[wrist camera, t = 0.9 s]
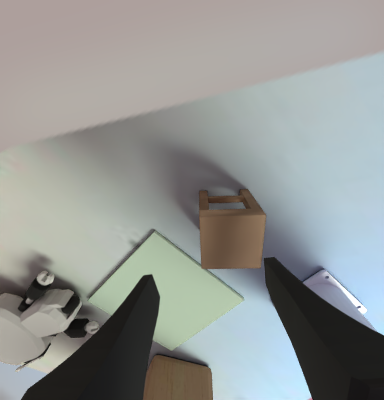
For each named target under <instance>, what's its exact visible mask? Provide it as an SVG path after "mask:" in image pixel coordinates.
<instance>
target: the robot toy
mask: <svg viewBox="0 0 384 400" xmlns="http://www.w3.org/2000/svg"><path fill="white" fill-rule="evenodd" d="M47 273H48V272H47V271H42V272H41V273H39V274H38V276H37V278H36V279H34V281H33V282H32V284H31V285H30V287H29V288H28V290H27V292H26V293H25V294H26V296H27V297H26V298H24V299H23V298H21V297H20V296H18V295H13V294H9V293H3V294H1V295H0V361H1V362H3V363H6V364H12V365H19V364H21V363H26V364H24V365H23V366H20V367H18V368H17V369H16V371H15V372H18V371H20V370H21V369H22V368H24V367H25V366H27V365H29V364H30V363H32V362H33V361H35V360H37V359H40V358H42V357H43V356H44V354H45V353H46V351H47V350H48V348H49V346H50V345H51V343H50V342H51V340H52V338H53V337H54V336H56V335H57V334H58V333H59V332H64V333H65V334H67V335H68V336H70V337H71V338H80V337H85V335H86V334H87V332H88V333H90V334H94V333H96V332H97V331H98V330H99V324H98V323H97V322H96V321H91V322H89V320H88V318H86V319H74V317H75V316H76V314H77V312H78V311H79V309H80V307H81V306H82V301H81V300H80V299H79V297H78V296H75V295H73V294H74V292H73V291H71V290H69V289H67V290H61V289H59V288H57V289H52V290H48V288H49V287H50V285H51V283H52V282H53V280H54V275H53V274H50V275H49V276H47V275H46V274H47ZM47 290H48V291H47ZM72 295H73V296H72ZM73 319H74V320H73Z"/></svg>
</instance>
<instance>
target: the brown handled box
mask: <svg viewBox="0 0 384 400" xmlns="http://www.w3.org/2000/svg"><path fill="white" fill-rule="evenodd" d="M230 202H243V204H244V206H245V208H246V209H224V210H209V204H208V203H230ZM199 221H200V245H201V269H237V268H261V261H262V251H263V241H264V231H265V222H266V214H265V213H264V211H263V210H262V208H261V207H260V206H259V204H258V203H257V201H256V200H255V199H254V197H253V196H252V194H251V193H250V192H249V190H248V189H240V195H239V196H210V197H208V194H207V191H199Z"/></svg>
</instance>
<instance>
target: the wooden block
mask: <svg viewBox="0 0 384 400" xmlns="http://www.w3.org/2000/svg"><path fill="white" fill-rule="evenodd" d="M143 400H213V391H212V373H211V369H210V368H208V367H206V366H202V365H198V364H194V363H190V362H186V361H182V360H178V359H174V358H170V357H166V356H162V355H156V356H154V358H153V359H152V361H151V363H150V366H149V368H148V370H147V373H146V379H145V387H144V396H143Z"/></svg>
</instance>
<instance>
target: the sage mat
mask: <svg viewBox="0 0 384 400" xmlns="http://www.w3.org/2000/svg"><path fill="white" fill-rule="evenodd" d="M149 274H152V275H153V278H154V281H155V283H156V286H157V289H158V292H159V295H160V305H159V313H158V318H157V323H156V327H155V331H154V336H153V340H154V341H155V342H157V343H159V344H160V345H162V346H164V347H165V348H167V349H169V350H170V351H172V350H174V349H175V348H177V347H178V346H179V345H181V344H182V343H184V342H185V341H187V340H188V339H189V338H191V337H192V336H194V335H195V334H197V333H198V332H200V331H201V330H202V329H204V328H205V327H207V326H208V325H210V324H211V323H212V322H214V321H215V320H217V319H218V318H220V317H221V316H223V315H224V314H225V313H227V312H228V311H230V310H231V309H233V308H234V307H235V306H237V305H238V304H240V303H241V302H243V301H244V298H243V297H242V296H241V295H240V294H238V293H237V292H236V291H234V290H233V289H232V288H230V287H229V286H228V285H226V284H225V283H224V282H222V281H221V280H220V279H218V278H217V277H216V276H215V275H213V274H212V273H211V272H209V271H208V270H207V269H201V265H200V264H199V263H197V262H196V261H195V260H193V259H192V258H191V257H190V256H188V255H187V254H186V253H184V252H183V251H182V250H180V249H179V248H178V247H176V246H175V245H174V244H172V243H171V242H170V241H168V240H167V239H166V238H165V237H163V236H162V235H161V234H159V233H158V232H157V231H154V232H153V233H152V234H151V235H150V236H149V237H148V238H147V239H146V240H145V241H144V242H143V243H142V244H141V246H140V247H139V248H138V249H137V250H136V251H135V252H134V253H133V254H132V255H131V256H130V257H129V258H128V259H127V260H126V261H125V262H124V263H123V264H122V265H121V266H120V267H119V268H118V269H117V270H116V271H115V272H114V273H113V274H112V275H111V276H110V277H109V279H108V280H107V281H106V282H105V283H104V284H103V285H102V286H101V287H100V288H99V289H98V290H97V291H96V292H95V293H94V294H93V295H92V296H91V297H90V298H89V299H88V302H90V303H91V304H93V305H95V306H96V307H98V308H100V309H101V310H103V311H105V312H107V313H108V314H110V315H113V313H114V312H115V311H116V310H117V309H118V307H119V306H120V305H121V304H122V303H123V301H124V300H125V299H126V297H127V296H128V295H129V294H130V292H131V291H132V290H133V288H134V287H135V286H136V284H137V283H138V282H139V280H140V279H141V278H142V276H143V275H149Z"/></svg>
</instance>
